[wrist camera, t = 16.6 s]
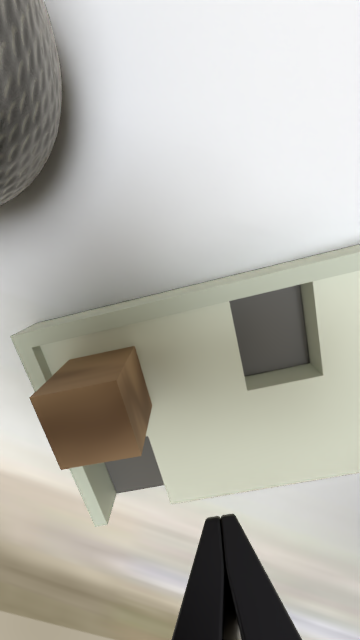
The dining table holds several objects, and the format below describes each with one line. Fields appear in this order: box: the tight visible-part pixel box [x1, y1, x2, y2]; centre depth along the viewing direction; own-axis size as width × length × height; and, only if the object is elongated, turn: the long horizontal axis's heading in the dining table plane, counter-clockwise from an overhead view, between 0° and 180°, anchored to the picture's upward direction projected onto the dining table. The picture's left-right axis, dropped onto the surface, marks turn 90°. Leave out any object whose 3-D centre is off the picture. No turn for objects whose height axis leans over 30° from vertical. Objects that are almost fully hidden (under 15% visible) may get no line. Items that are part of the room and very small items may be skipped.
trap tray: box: [10, 244, 360, 527], centre depth 18 cm, size 16×25×3 cm, turn 104°
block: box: [30, 346, 152, 470], centre depth 15 cm, size 4×4×4 cm
